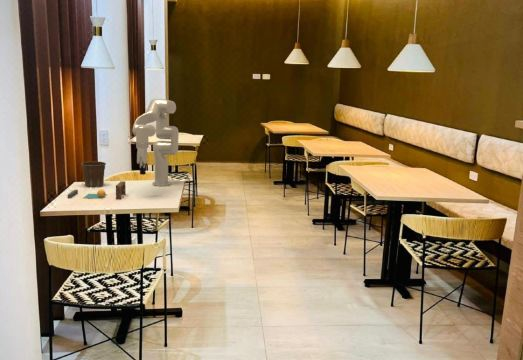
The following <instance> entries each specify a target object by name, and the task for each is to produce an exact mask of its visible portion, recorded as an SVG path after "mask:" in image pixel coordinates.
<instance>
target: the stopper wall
mask: <svg viewBox="0 0 523 360" xmlns="http://www.w3.org/2000/svg"><path fill="white" fill-rule="evenodd" d="M78 194H79V190H78V189H73V190H72V191H70V192H69V193H67V199H73V198H74V197H75V196H77V195H78Z"/></svg>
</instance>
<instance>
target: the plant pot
mask: <svg viewBox="0 0 523 360" xmlns="http://www.w3.org/2000/svg"><path fill="white" fill-rule="evenodd" d="M106 165H107V163H106V162H105V161H85V162H82V163H81V167H82V170H83V171H82V172H83V173H82V174H83V178H84V186H85V187H86V186H87V187H86V188H90V187H92V188H91V189H93V187H97V188H99V187H100V188H102V187H104V180H105V170H106Z"/></svg>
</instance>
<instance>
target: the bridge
mask: <svg viewBox="0 0 523 360" xmlns="http://www.w3.org/2000/svg"><path fill="white" fill-rule="evenodd" d="M126 190H127V189H126V181H125V180H124V181H121V180H120V181H119V182H118V183H117V184H116V185H115V200H123V199H122V196H126V195H127V194H126Z"/></svg>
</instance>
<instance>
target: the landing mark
mask: <svg viewBox="0 0 523 360" xmlns="http://www.w3.org/2000/svg"><path fill="white" fill-rule="evenodd" d="M107 195H108V194H107V193H105V196H104V197H99V196H98V195H97V193H88V194H86V195H85V196H84V197H83V199H92V200H93V199H95V200H96V199H98V200H99V199H100V200H101V199H104V198H105V197H106V196H107Z"/></svg>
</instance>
